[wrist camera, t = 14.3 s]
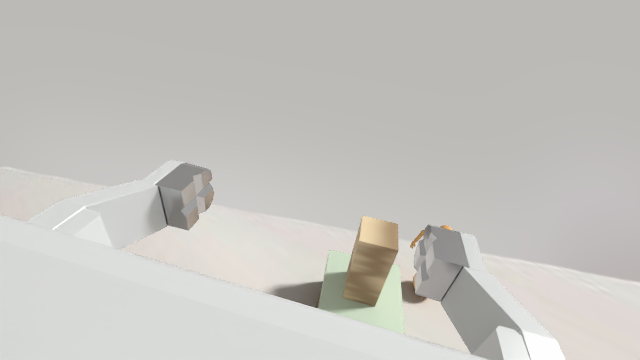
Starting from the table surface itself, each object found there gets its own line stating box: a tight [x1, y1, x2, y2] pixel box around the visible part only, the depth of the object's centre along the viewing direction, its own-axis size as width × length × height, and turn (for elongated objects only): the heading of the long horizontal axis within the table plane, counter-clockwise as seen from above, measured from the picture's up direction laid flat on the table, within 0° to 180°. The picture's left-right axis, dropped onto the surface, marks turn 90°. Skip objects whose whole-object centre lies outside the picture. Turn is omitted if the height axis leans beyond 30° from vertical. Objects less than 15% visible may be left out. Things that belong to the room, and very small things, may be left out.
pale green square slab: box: [318, 250, 405, 334], centre depth 38 cm, size 10×10×4 cm
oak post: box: [342, 216, 398, 307], centre depth 34 cm, size 4×4×10 cm
